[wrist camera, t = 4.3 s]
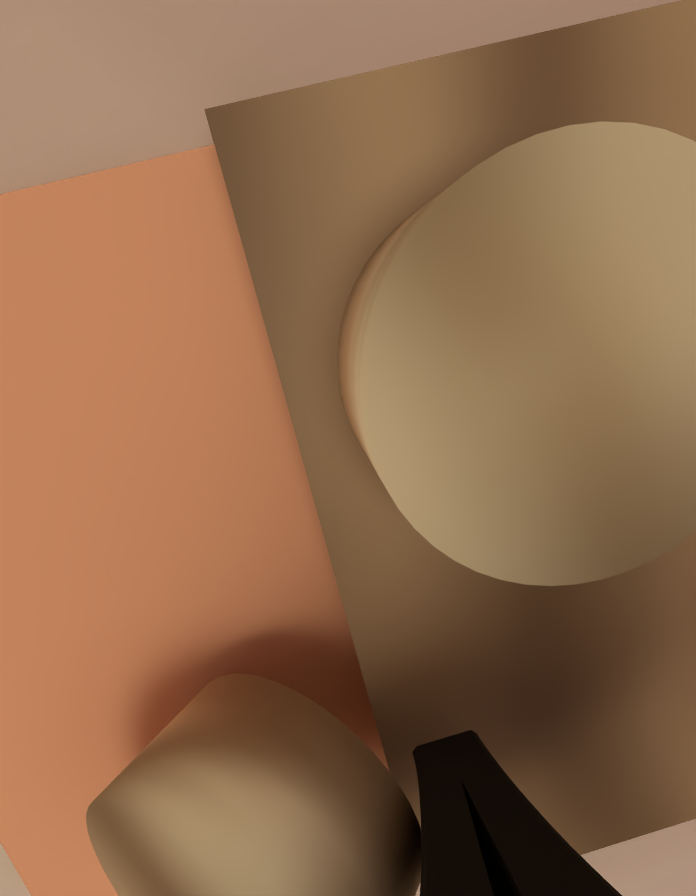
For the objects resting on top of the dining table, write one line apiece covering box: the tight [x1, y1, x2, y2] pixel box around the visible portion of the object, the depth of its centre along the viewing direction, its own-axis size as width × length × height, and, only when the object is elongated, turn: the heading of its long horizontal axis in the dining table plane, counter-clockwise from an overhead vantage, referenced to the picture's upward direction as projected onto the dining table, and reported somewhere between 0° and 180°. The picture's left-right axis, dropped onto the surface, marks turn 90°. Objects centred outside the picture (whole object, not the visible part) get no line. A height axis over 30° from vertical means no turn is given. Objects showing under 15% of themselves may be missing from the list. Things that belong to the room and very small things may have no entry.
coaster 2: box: [337, 121, 696, 586], centre depth 8 cm, size 6×6×3 cm
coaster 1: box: [86, 673, 421, 896], centre depth 10 cm, size 6×6×3 cm
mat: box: [0, 145, 389, 896], centre depth 12 cm, size 10×18×1 cm, turn 14°
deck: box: [205, 0, 696, 883], centre depth 12 cm, size 10×18×2 cm, turn 14°
